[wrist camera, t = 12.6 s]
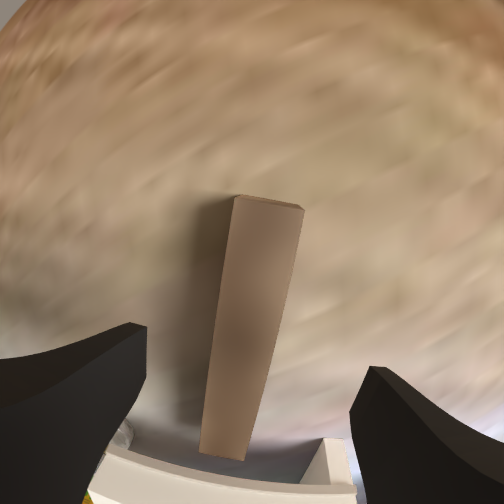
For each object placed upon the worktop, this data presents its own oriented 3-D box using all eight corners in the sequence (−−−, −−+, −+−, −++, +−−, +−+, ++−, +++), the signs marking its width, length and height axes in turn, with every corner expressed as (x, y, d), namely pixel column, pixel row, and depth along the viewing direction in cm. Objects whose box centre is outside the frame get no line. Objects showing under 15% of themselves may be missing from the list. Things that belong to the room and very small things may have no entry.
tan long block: (297, 204, 16) (304, 210, 13) (247, 425, 20) (243, 460, 16) (242, 194, 16) (234, 197, 13) (207, 418, 20) (198, 452, 17)
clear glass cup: (131, 411, 20) (122, 427, 18) (137, 448, 22) (130, 463, 20) (79, 393, 21) (68, 407, 19) (90, 431, 22) (81, 444, 20)
